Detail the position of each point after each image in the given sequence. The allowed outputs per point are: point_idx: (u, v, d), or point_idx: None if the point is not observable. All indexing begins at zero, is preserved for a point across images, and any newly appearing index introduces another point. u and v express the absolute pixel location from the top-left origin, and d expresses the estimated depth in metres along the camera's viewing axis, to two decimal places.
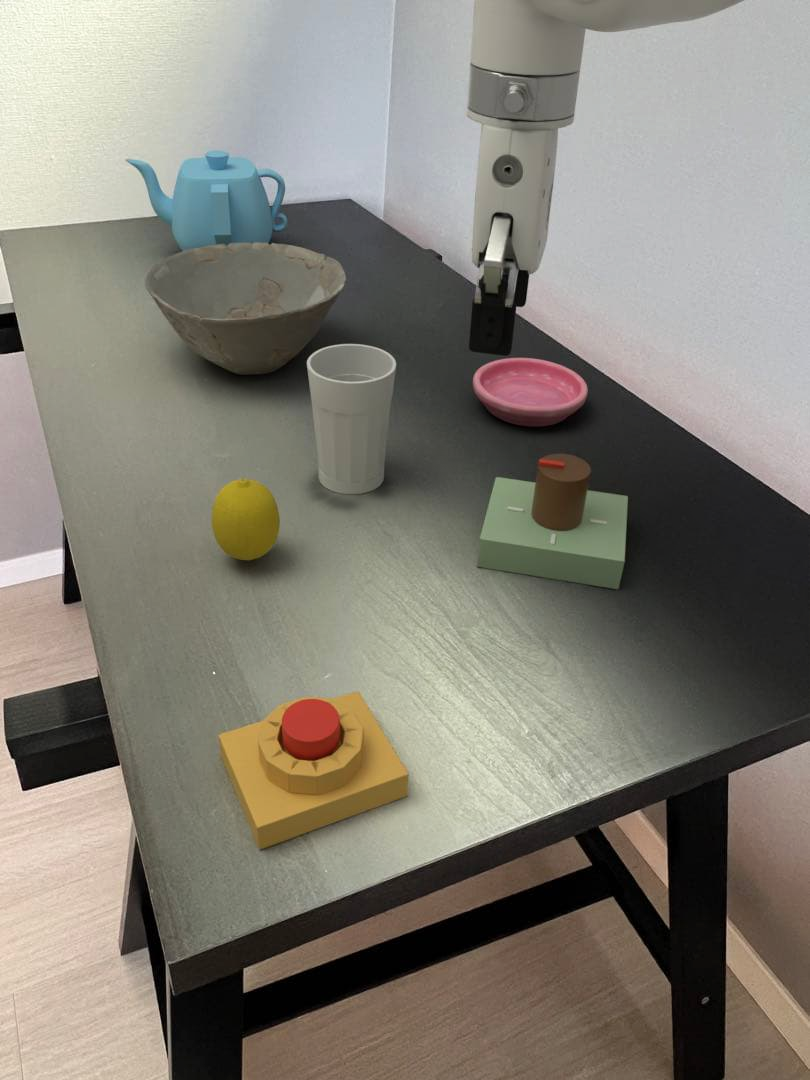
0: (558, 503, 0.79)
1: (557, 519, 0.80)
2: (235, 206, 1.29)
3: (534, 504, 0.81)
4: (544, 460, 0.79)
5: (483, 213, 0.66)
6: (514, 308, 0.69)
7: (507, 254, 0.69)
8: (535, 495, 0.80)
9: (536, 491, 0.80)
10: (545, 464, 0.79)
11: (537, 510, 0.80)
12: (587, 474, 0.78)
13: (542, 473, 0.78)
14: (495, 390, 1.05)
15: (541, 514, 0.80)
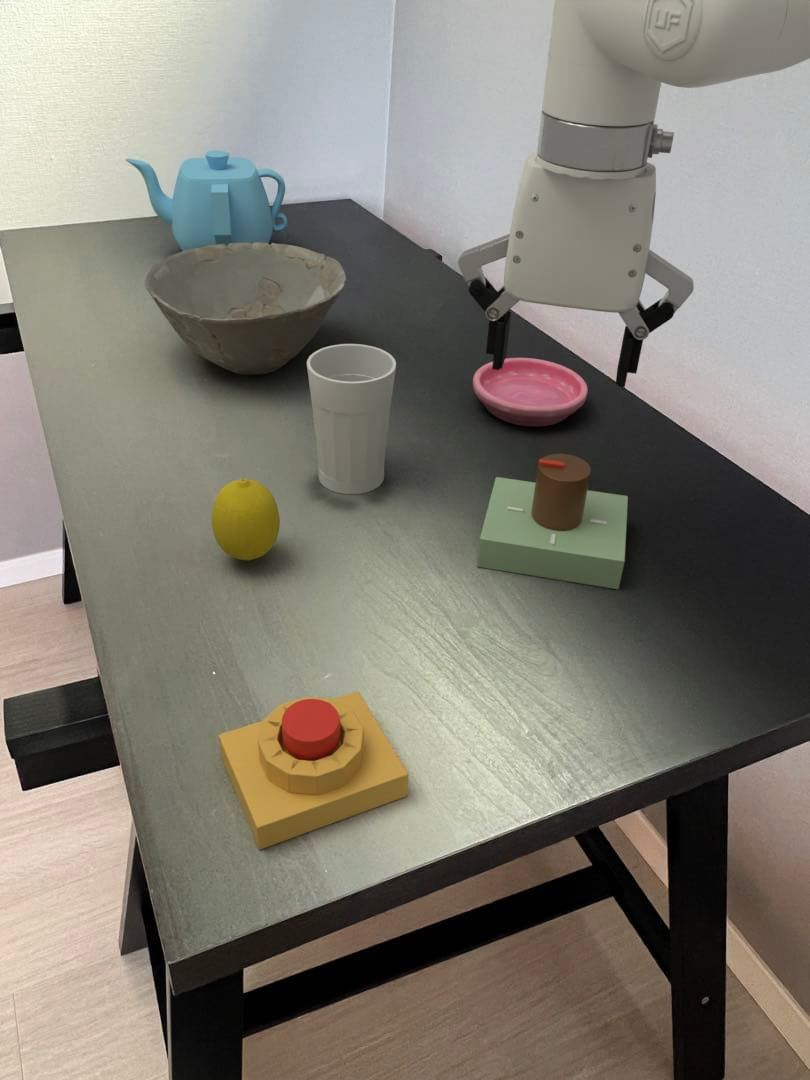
0: (558, 503, 0.79)
1: (557, 519, 0.80)
2: (235, 206, 1.29)
3: (534, 504, 0.81)
4: (544, 460, 0.79)
5: (646, 256, 0.67)
6: None
7: None
8: (535, 495, 0.80)
9: (536, 491, 0.80)
10: (545, 464, 0.79)
11: (537, 510, 0.80)
12: (587, 474, 0.78)
13: (542, 473, 0.78)
14: (495, 390, 1.05)
15: (541, 514, 0.80)
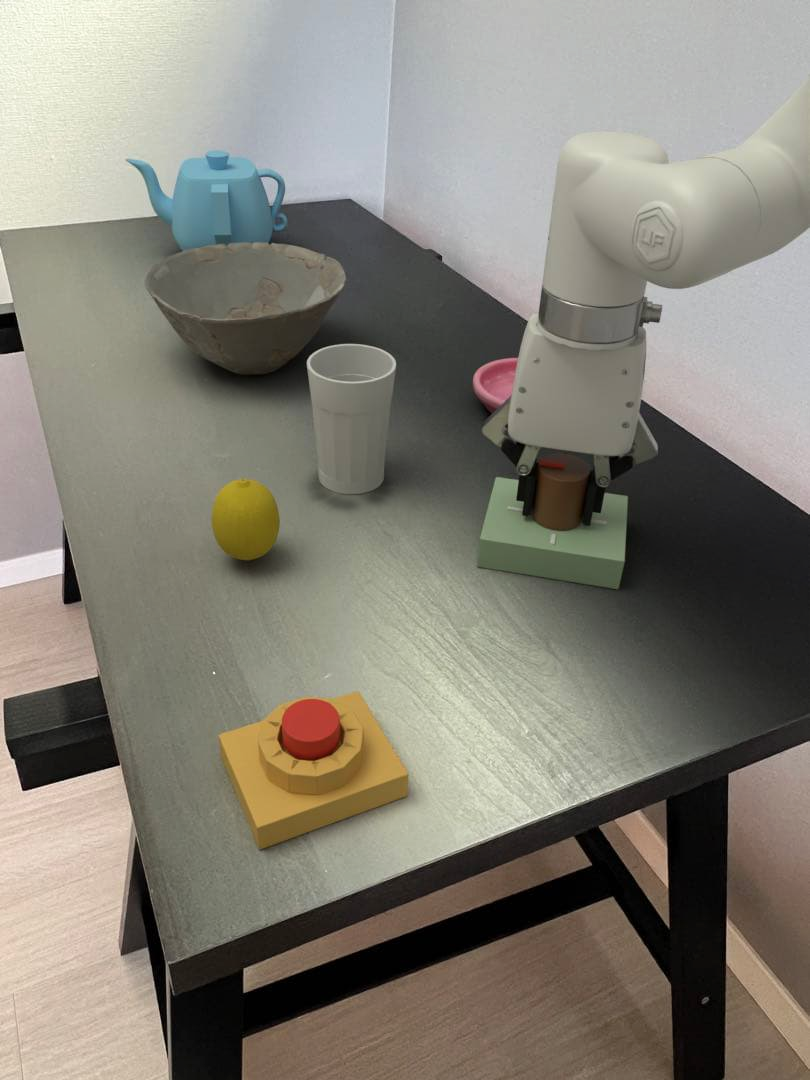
0: (558, 503, 0.79)
1: (557, 519, 0.80)
2: (235, 206, 1.29)
3: (534, 504, 0.81)
4: (544, 460, 0.79)
5: (638, 409, 0.73)
6: None
7: None
8: (535, 495, 0.80)
9: (536, 491, 0.80)
10: (545, 464, 0.79)
11: (537, 510, 0.80)
12: (587, 474, 0.78)
13: (542, 473, 0.78)
14: (495, 390, 1.05)
15: (541, 514, 0.80)
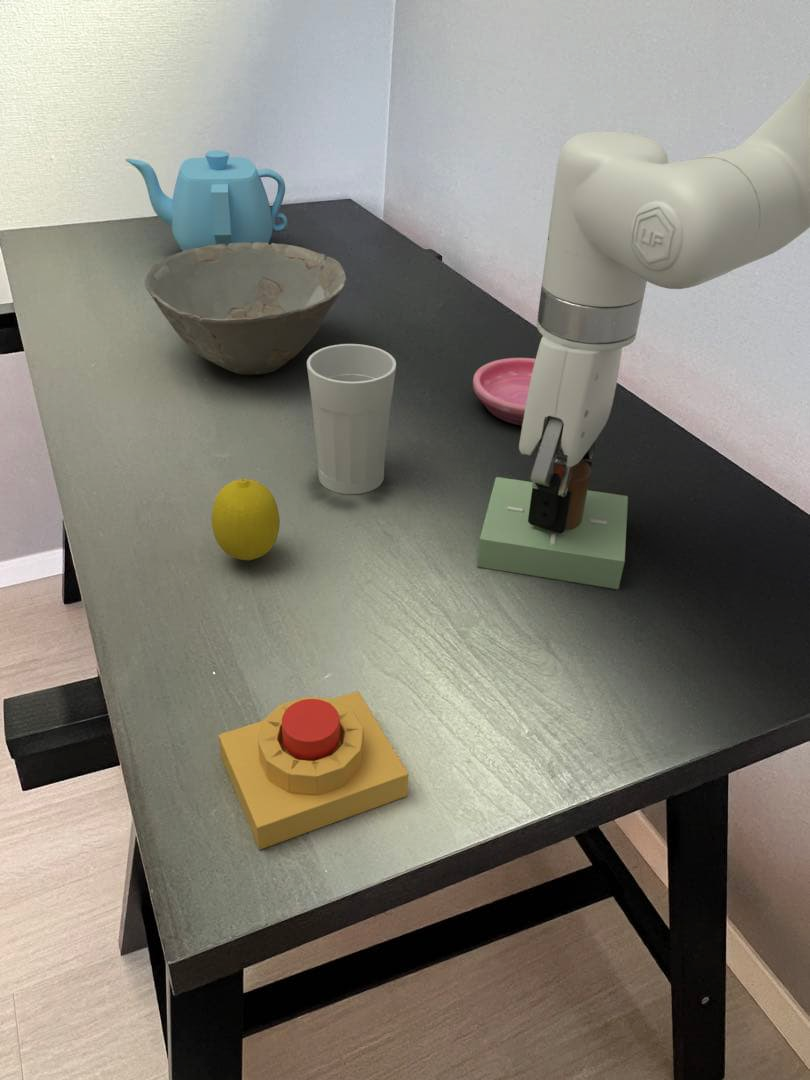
0: (585, 496, 0.80)
1: (583, 511, 0.81)
2: (235, 206, 1.29)
3: None
4: (557, 473, 0.78)
5: None
6: (557, 454, 0.82)
7: None
8: None
9: None
10: (561, 475, 0.78)
11: (567, 519, 0.80)
12: None
13: (572, 482, 0.77)
14: (495, 390, 1.05)
15: (572, 518, 0.80)
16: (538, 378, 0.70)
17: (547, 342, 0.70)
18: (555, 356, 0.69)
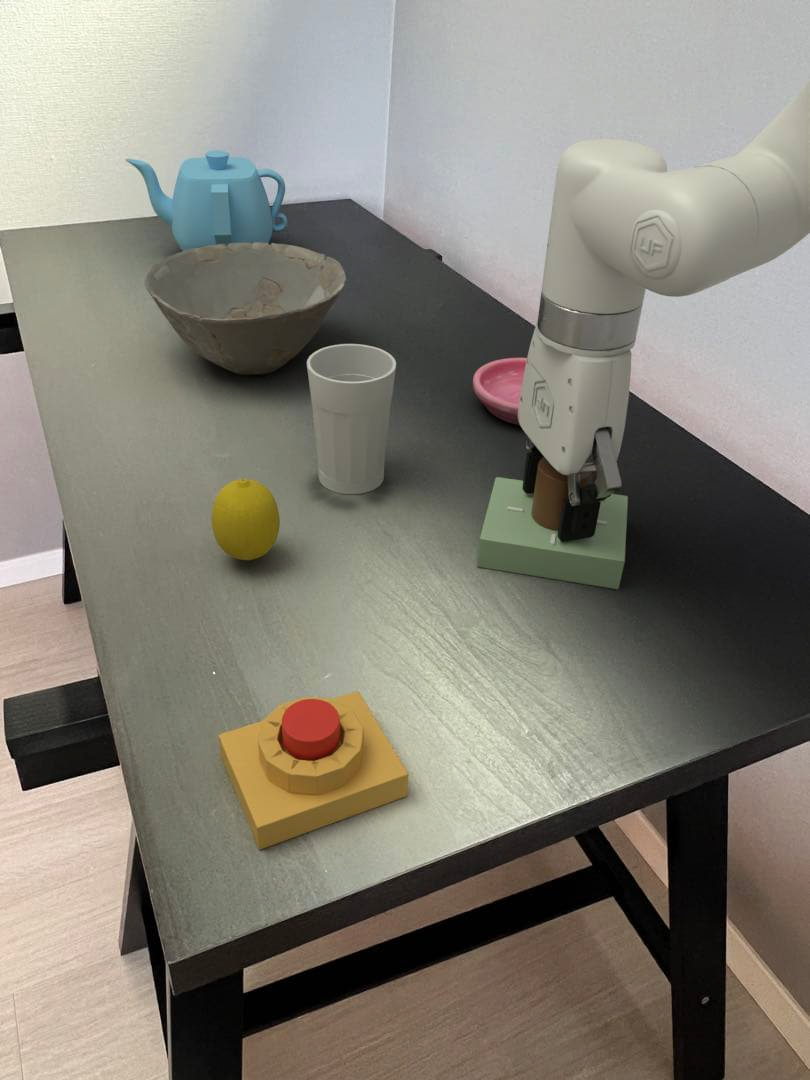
0: None
1: None
2: (235, 206, 1.29)
3: None
4: None
5: None
6: (527, 454, 0.82)
7: None
8: None
9: None
10: None
11: None
12: None
13: (588, 476, 0.78)
14: (495, 390, 1.05)
15: None
16: (587, 396, 0.70)
17: (587, 359, 0.69)
18: (602, 369, 0.69)
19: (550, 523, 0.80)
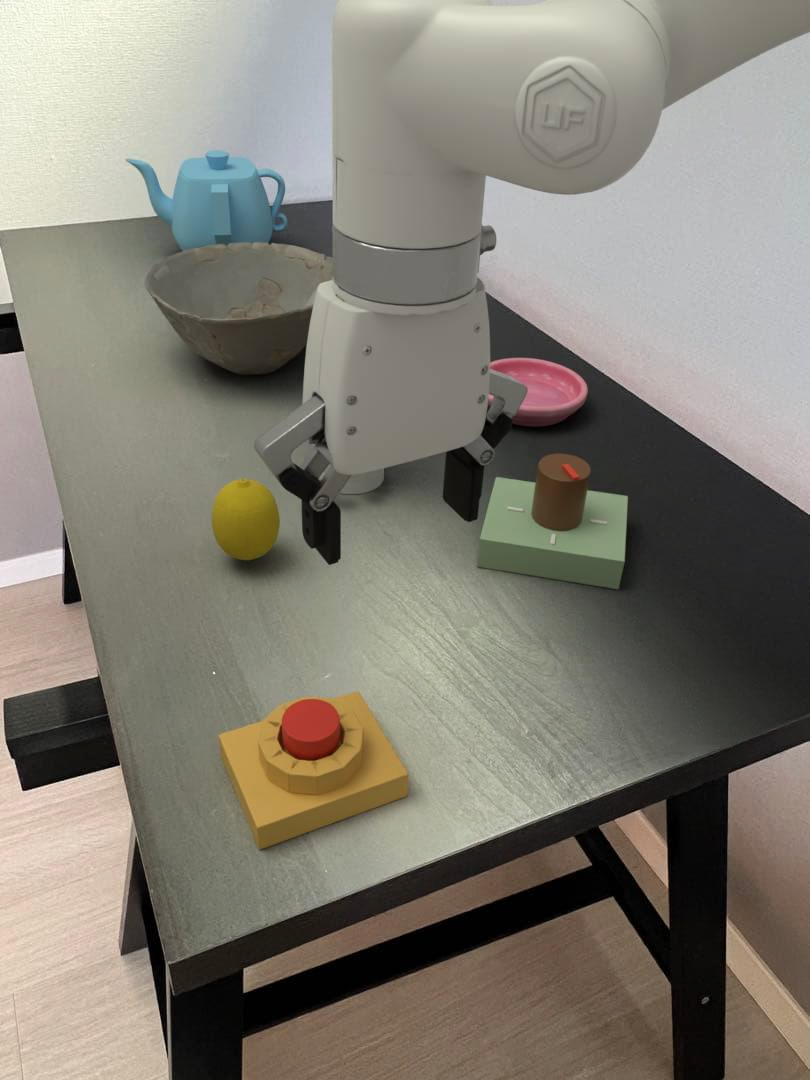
0: None
1: None
2: (235, 206, 1.29)
3: (578, 513, 0.80)
4: (573, 474, 0.78)
5: None
6: None
7: None
8: (579, 505, 0.79)
9: (581, 500, 0.79)
10: None
11: (581, 513, 0.80)
12: (561, 454, 0.81)
13: (588, 476, 0.78)
14: None
15: (583, 510, 0.81)
16: (309, 335, 0.50)
17: (324, 286, 0.49)
18: (319, 306, 0.48)
19: (550, 523, 0.80)
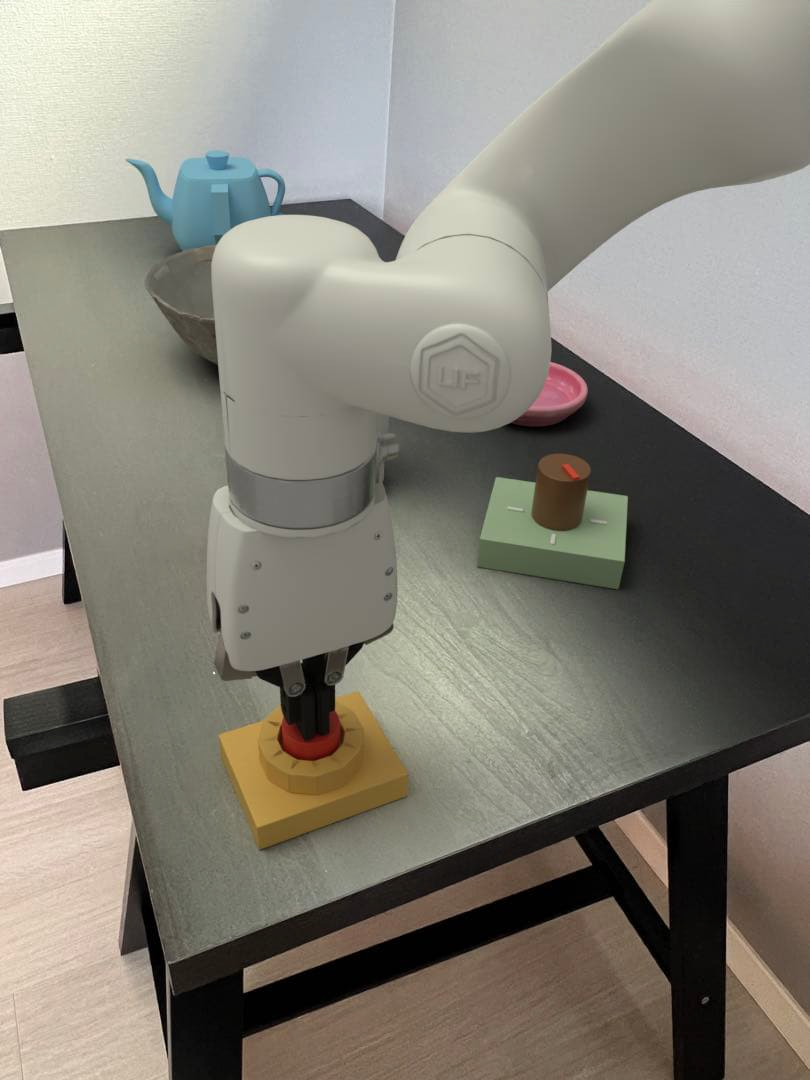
0: None
1: None
2: (235, 206, 1.29)
3: (578, 513, 0.80)
4: (573, 474, 0.78)
5: None
6: None
7: None
8: (579, 505, 0.79)
9: (581, 500, 0.79)
10: None
11: (581, 513, 0.80)
12: (561, 454, 0.81)
13: (588, 476, 0.78)
14: None
15: (583, 510, 0.81)
16: None
17: (221, 493, 0.49)
18: (213, 516, 0.48)
19: (550, 523, 0.80)
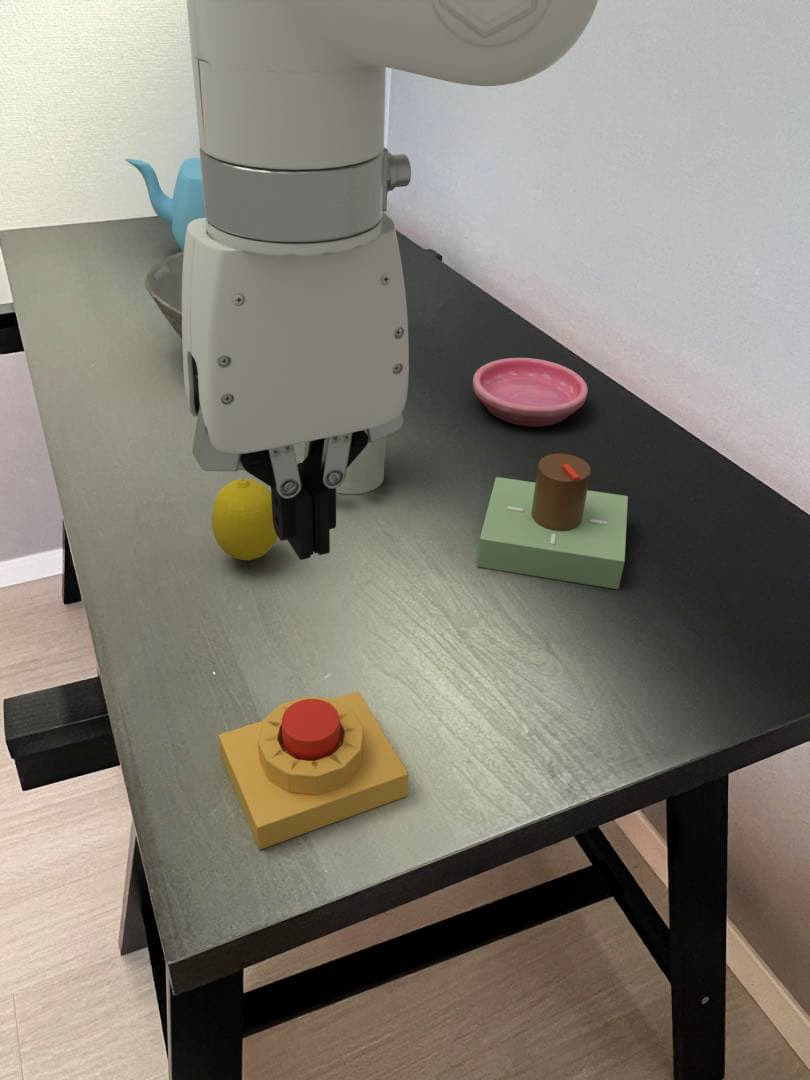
0: None
1: None
2: None
3: (578, 513, 0.80)
4: (573, 474, 0.78)
5: None
6: None
7: None
8: (579, 505, 0.79)
9: (581, 500, 0.79)
10: None
11: (581, 513, 0.80)
12: (561, 454, 0.81)
13: (588, 476, 0.78)
14: (495, 390, 1.05)
15: (583, 510, 0.81)
16: None
17: (197, 223, 0.41)
18: (187, 245, 0.40)
19: (550, 523, 0.80)
